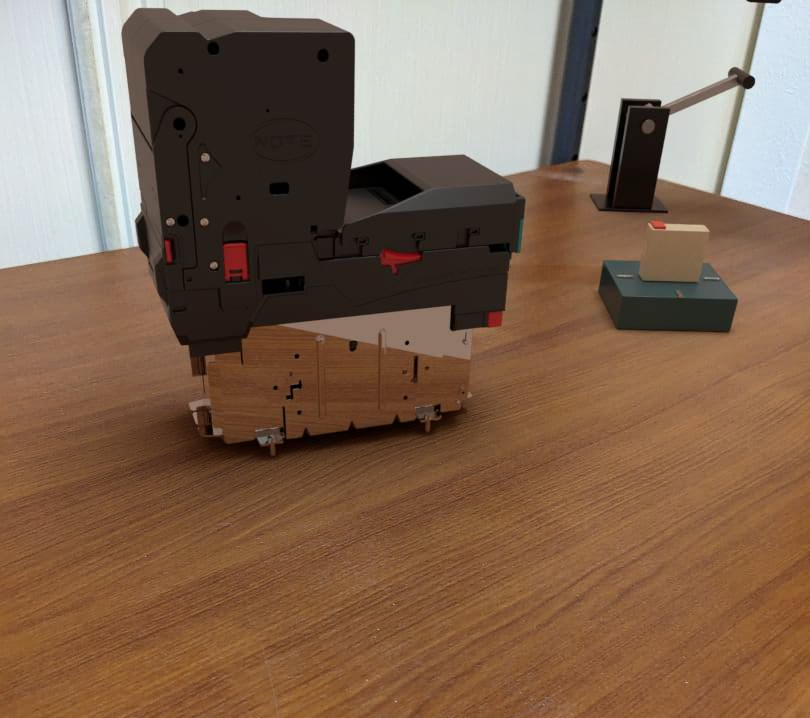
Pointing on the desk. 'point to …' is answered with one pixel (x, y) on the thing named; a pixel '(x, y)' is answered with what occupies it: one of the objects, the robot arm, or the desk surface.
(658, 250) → the tan upright slab
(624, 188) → the lever bracket
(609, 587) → the desk surface
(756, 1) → the robot arm
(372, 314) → the bill acceptor
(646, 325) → the dial panel
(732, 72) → the lever handle
